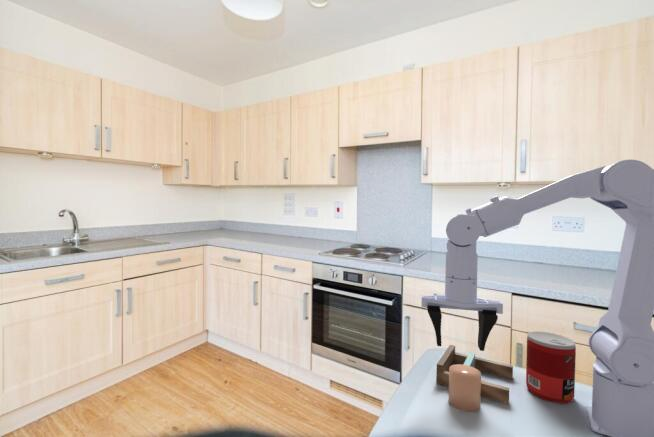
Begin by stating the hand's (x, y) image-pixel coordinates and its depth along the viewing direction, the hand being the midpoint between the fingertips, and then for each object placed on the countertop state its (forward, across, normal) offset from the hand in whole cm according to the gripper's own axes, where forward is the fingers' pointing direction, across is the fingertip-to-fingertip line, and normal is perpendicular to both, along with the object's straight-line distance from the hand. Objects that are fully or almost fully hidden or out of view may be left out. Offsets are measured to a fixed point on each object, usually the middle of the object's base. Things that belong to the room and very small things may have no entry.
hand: (459, 346), depth 63 cm
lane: (+10, -5, -7) cm, 13 cm away
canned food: (+10, -18, -6) cm, 21 cm away
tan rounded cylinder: (+10, -1, +2) cm, 10 cm away
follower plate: (+10, -3, -8) cm, 13 cm away
